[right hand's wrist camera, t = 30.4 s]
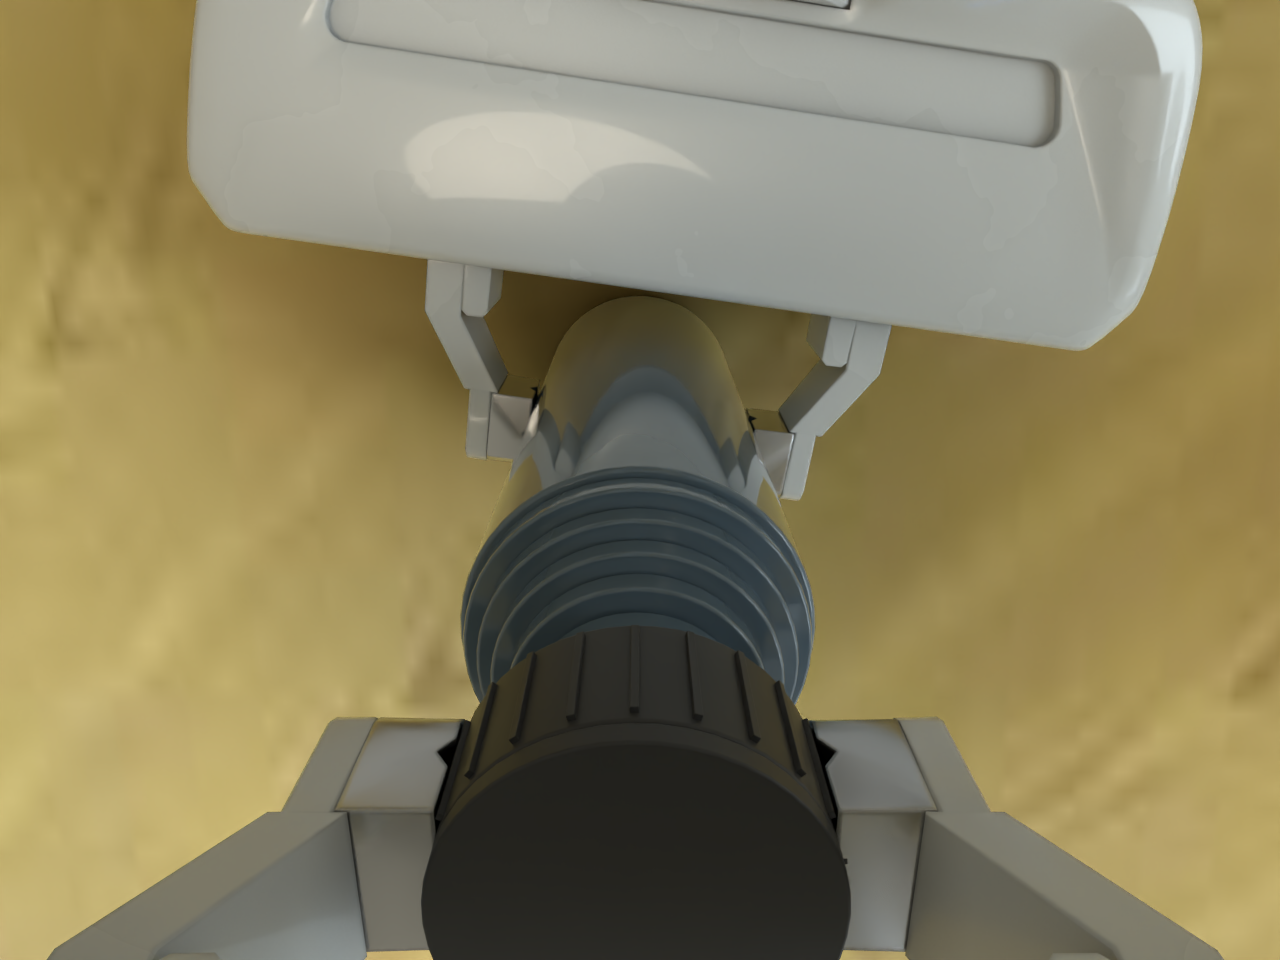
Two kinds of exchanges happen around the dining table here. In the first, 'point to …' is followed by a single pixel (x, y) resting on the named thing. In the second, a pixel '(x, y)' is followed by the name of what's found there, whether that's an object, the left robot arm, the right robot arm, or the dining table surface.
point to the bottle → (638, 506)
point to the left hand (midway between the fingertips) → (635, 472)
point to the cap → (636, 812)
